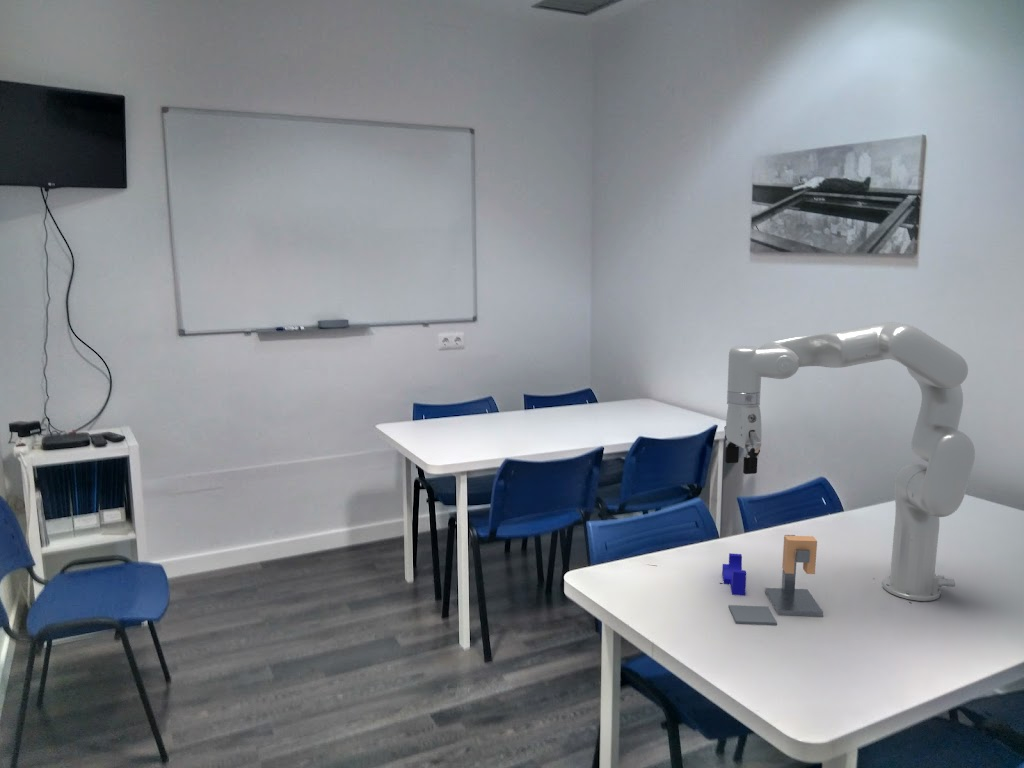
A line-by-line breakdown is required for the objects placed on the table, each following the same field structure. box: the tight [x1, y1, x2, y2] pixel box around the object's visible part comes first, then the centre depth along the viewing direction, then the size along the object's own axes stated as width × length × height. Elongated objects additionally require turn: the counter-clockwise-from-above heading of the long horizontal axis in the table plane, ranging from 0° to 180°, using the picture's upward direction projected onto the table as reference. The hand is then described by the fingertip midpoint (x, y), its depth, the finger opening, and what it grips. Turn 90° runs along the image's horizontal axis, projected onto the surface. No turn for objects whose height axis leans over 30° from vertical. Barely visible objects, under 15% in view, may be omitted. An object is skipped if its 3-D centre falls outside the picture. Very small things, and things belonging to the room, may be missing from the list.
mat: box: [728, 604, 778, 626], centre depth 173 cm, size 9×8×1 cm
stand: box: [764, 534, 824, 618], centre depth 177 cm, size 10×12×15 cm
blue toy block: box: [721, 552, 747, 597], centre depth 189 cm, size 12×4×6 cm, turn 169°
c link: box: [781, 534, 818, 575], centre depth 174 cm, size 6×3×8 cm, turn 85°
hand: (740, 467), depth 183 cm, fingers open, 9 cm apart
